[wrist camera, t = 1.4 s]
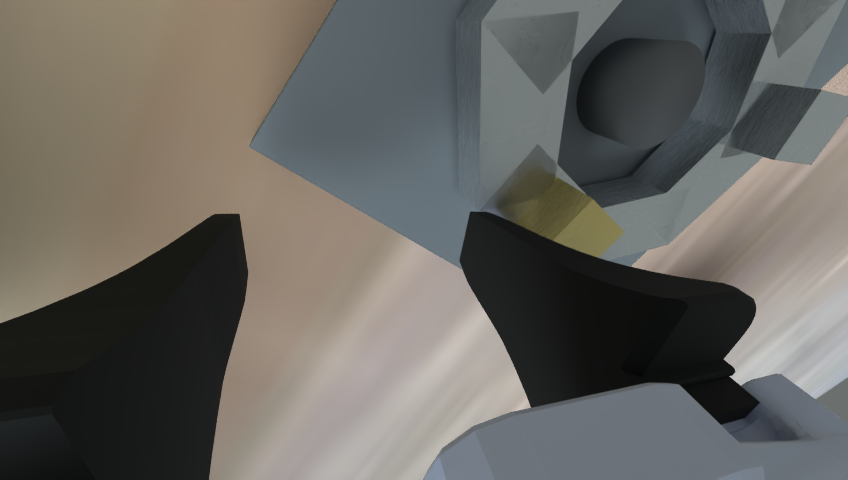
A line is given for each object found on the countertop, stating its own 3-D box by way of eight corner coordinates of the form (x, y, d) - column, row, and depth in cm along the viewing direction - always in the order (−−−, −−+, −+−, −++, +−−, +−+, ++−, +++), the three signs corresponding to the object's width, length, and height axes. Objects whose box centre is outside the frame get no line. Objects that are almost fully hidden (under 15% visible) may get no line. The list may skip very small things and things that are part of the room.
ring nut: (804, 61, 16) (930, 71, 13) (578, 279, 19) (632, 330, 16) (719, -349, 8) (974, -576, 5) (378, 129, 12) (405, 167, 9)
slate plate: (840, 49, 17) (927, 54, 15) (556, 319, 23) (587, 355, 20) (749, -679, 7) (992, -1059, 4) (251, 139, 12) (238, 170, 9)
